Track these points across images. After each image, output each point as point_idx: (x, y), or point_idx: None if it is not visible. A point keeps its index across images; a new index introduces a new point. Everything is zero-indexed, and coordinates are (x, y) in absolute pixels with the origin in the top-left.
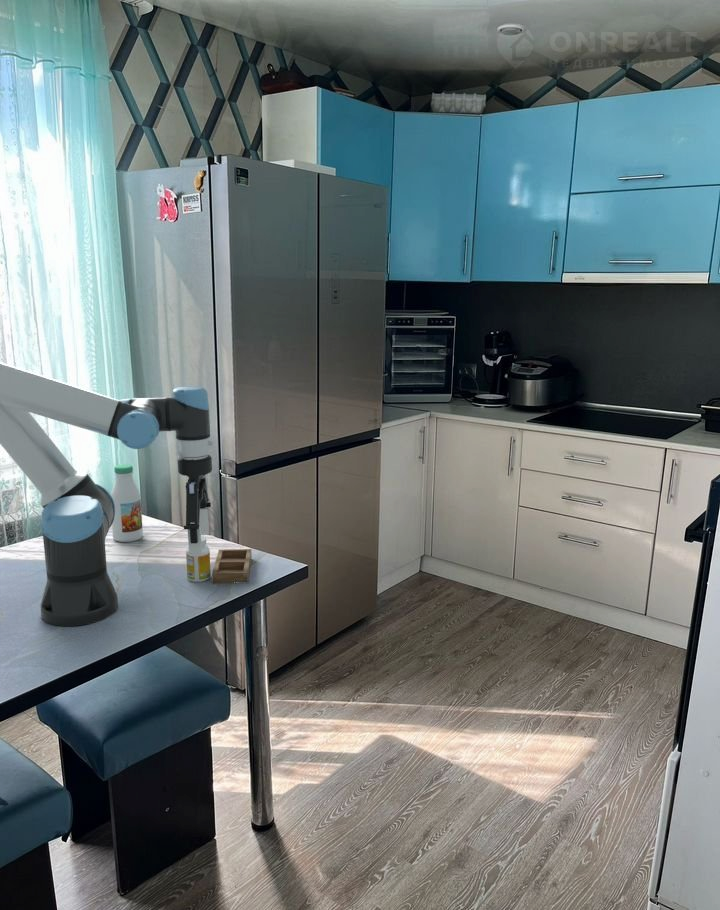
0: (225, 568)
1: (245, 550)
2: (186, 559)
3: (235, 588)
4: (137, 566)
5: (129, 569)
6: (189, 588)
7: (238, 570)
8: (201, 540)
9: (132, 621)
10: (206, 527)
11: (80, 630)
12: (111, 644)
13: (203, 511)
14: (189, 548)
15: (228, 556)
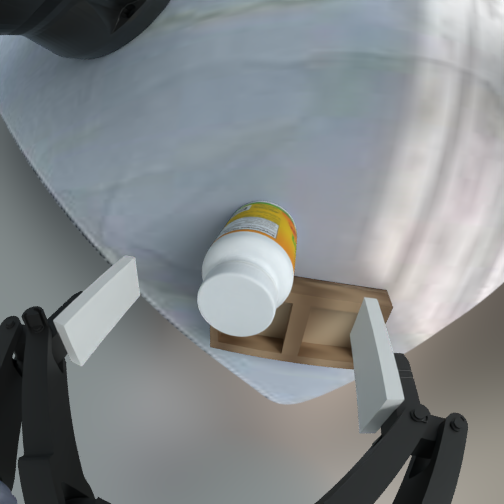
0: (291, 304)
1: None
2: (242, 222)
3: (189, 305)
4: (389, 52)
5: (366, 29)
6: (193, 206)
7: (281, 326)
8: (211, 320)
9: (58, 109)
10: (356, 351)
11: None
12: (15, 107)
13: (366, 411)
14: (107, 272)
15: None
